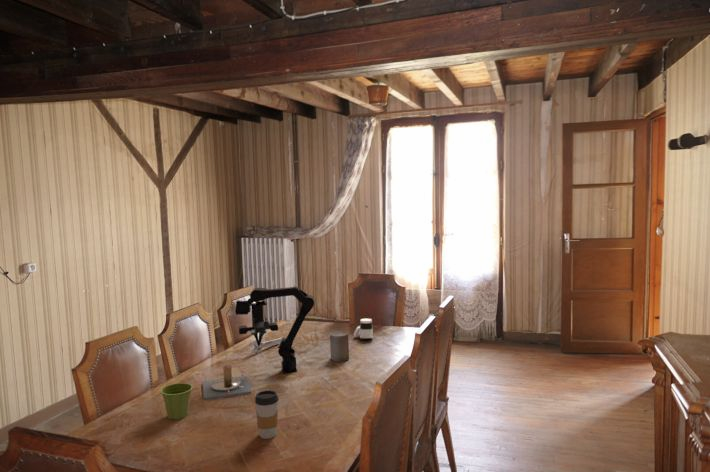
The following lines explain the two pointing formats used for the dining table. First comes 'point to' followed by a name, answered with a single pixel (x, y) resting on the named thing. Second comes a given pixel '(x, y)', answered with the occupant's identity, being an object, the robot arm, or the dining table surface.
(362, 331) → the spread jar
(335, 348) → the pillar candle
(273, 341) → the wrench
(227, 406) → the dining table surface
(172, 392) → the plant pot
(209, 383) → the dial board
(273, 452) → the dining table surface
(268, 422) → the coffee cup
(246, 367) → the dining table surface
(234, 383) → the dial
